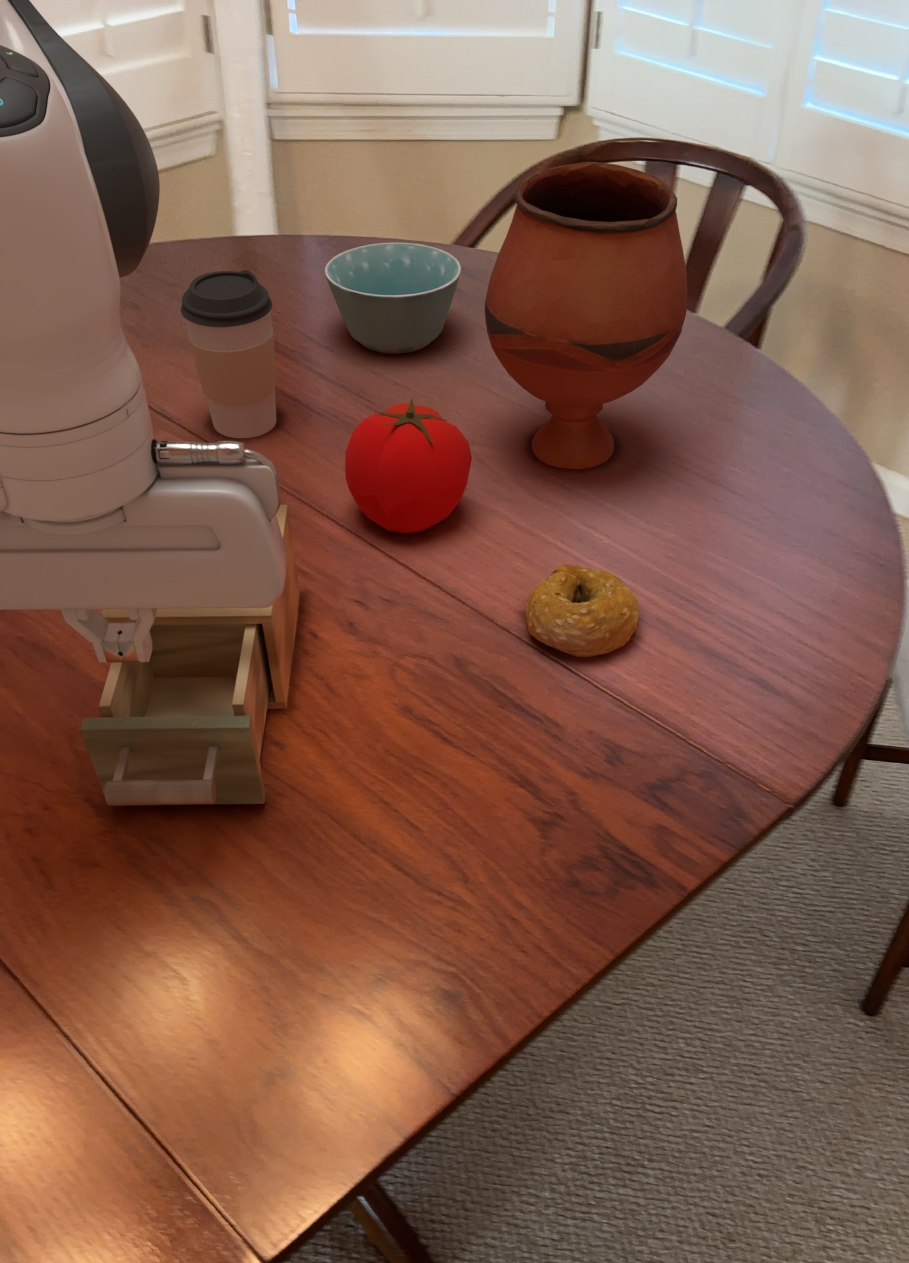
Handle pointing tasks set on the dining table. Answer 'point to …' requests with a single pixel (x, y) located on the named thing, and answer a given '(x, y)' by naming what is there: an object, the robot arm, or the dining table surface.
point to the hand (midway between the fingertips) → (126, 656)
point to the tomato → (407, 467)
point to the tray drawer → (184, 719)
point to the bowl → (393, 293)
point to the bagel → (582, 611)
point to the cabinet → (251, 620)
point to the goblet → (586, 298)
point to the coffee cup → (233, 350)
